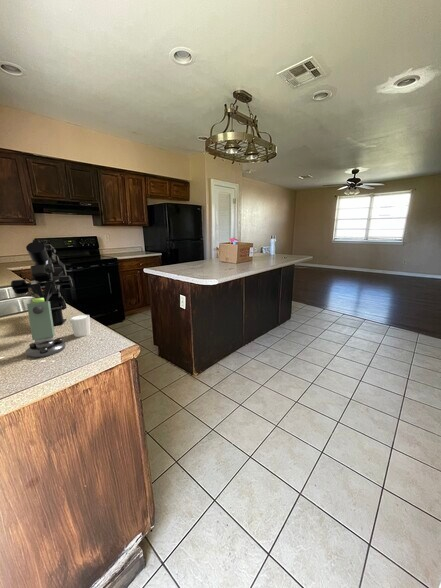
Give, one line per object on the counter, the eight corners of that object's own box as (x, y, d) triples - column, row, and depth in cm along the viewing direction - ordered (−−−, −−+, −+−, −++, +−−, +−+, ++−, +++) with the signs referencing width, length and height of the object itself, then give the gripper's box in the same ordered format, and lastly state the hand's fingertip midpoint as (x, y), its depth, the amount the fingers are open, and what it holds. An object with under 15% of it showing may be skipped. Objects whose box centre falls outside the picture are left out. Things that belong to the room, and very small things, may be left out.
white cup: (68, 335, 96) (65, 318, 94) (85, 329, 102) (82, 313, 100) (79, 338, 93) (76, 321, 91) (96, 332, 99) (93, 315, 97)
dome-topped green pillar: (35, 342, 84) (29, 299, 83) (55, 339, 86) (49, 297, 86) (31, 345, 78) (24, 299, 78) (52, 341, 81) (45, 297, 81)
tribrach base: (29, 347, 86) (28, 339, 86) (66, 340, 91) (65, 333, 90) (22, 361, 77) (20, 352, 76) (64, 353, 82) (62, 344, 81)
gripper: (6, 258, 88) (4, 294, 81) (67, 255, 96) (70, 288, 89) (16, 276, 97) (15, 311, 90) (71, 272, 105) (74, 303, 98)
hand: (44, 303), depth 92 cm, fingers closed
